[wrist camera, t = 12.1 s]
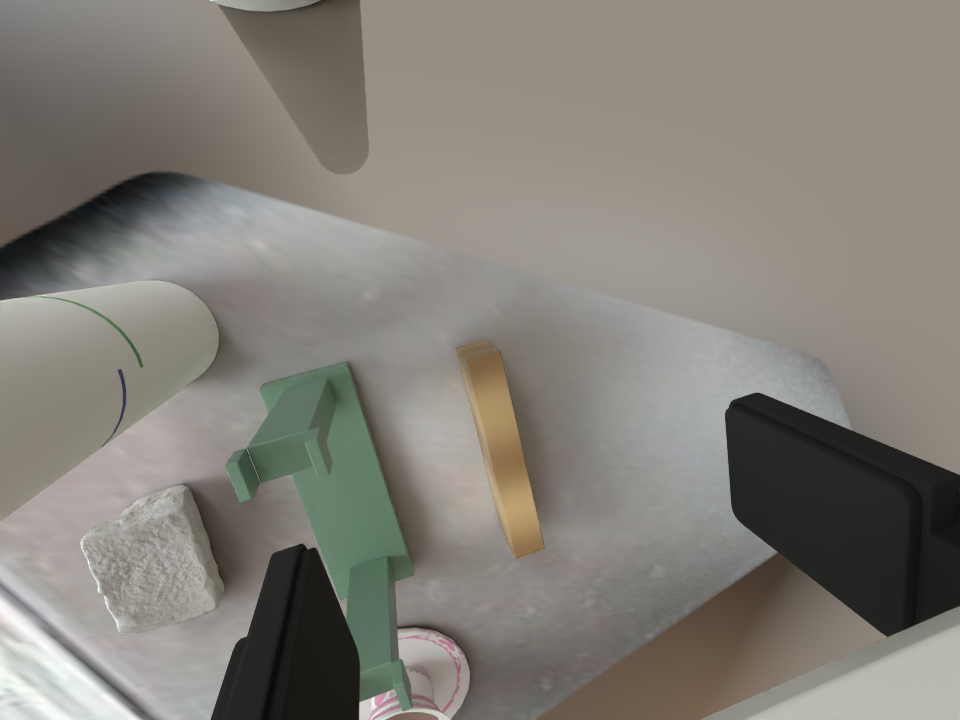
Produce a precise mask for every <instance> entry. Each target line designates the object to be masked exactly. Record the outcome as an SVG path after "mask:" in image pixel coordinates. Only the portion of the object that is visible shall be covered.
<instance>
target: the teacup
mask: <svg viewBox="0 0 960 720" xmlns="http://www.w3.org/2000/svg"><path fill="white" fill-rule="evenodd" d="M397 632H398V649H399V659H402V660H403V663H404V666H405V669H406V672H407V674H408V677H409V680H410V683H411V693H412V705H413V707H412V709H409V710H406V711H404V712H403V711H402V708H401V706H400V703H399V700H398V698H397V695H396V692H395V689H394V690H391V691H388V692H386V693H383V694H380V695H378V696H375V697H373V698H370V699H367V700H365V701H362V702H359V720H452V719H451V718H452V717H453V716H454V715H455V713H456V712H457V711H458V710H459V709H460V707H461V706H462V704H463V701H464V699H465V697H466V695H467V692H468V690H469V680H470V669H469V666H468V663H467V660H466V657H465V653H464V652H463V651H462V650H461V649H460V647H459V646H458V645H457V644H456V643H455V642H454V640H452V639H450V638H449V637H447V636H445V635H443V634H441V633H439V632H437V631H434V630H428V629H422V628H417V627H414V628H404V629H397Z"/></svg>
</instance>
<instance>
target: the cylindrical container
mask: <svg viewBox="0 0 960 720" xmlns="http://www.w3.org/2000/svg"><path fill="white" fill-rule="evenodd" d="M218 346H219V333H218V327H217V324H216V322H215V319H214V317H213V315H212V313H211V312H210V310H209V308H208V307H207V306H206V305H205V304H204V303H203V302H202V300H201V299H200V298H198V297H197V296H196V295H194V294H193V293H192V292H190V291H189V290H187V289H185V288H183V287H181V286H179V285H176V284H172V283H169V282H164V281H157V280H149V281H138V282H131V283H123V284H116V285H109V286H102V287H95V288H88V289H81V290H73V291H66V292H59V293H52V294H45V295H38V296H31V297H24V298H16V299H9V300H2V301H0V521H2V520H3V519H5V518H6V517H7V516H9V515H10V514H11V513H13V512H14V511H15V510H17V509H18V508H20V507H21V506H22V505H24V504H25V503H26V502H28V501H29V500H30V499H32V498H33V497H34V496H36V495H37V494H39V493H40V492H41V491H43V490H44V489H45V488H47V487H48V486H49V485H51V484H52V483H54V482H55V481H56V480H58V479H59V478H60V477H62V476H63V475H64V474H66V473H67V472H69V471H70V470H71V469H73V468H74V467H75V466H77V465H78V464H79V463H81V462H82V461H84V460H85V459H86V458H88V457H89V456H90V455H92V454H93V453H95V452H96V451H97V450H99V449H100V448H101V447H103V446H104V445H106V444H107V443H108V442H110V441H111V440H113V439H114V438H115V437H117V436H118V435H119V434H121V433H122V432H124V431H125V430H126V429H128V428H129V427H131V426H132V425H133V424H135V423H136V422H137V421H139V420H140V419H142V418H143V417H144V416H146V415H147V414H149V413H150V412H151V411H153V410H154V409H156V408H157V407H158V406H160V405H161V404H162V403H164V402H165V401H166V400H168V399H169V398H171V397H172V396H173V395H175V394H176V393H177V392H179V391H180V390H181V389H183V388H184V387H185V386H187V385H188V384H189V383H191V382H192V381H194V380H195V379H196V378H198V377H199V376H200V375H202V374H203V373H204V372H205V371H206V370H207V369H208V368H209V367H210V365H211V364H212V362H213V360H214V358H215V357H216V354H217V350H218Z"/></svg>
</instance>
